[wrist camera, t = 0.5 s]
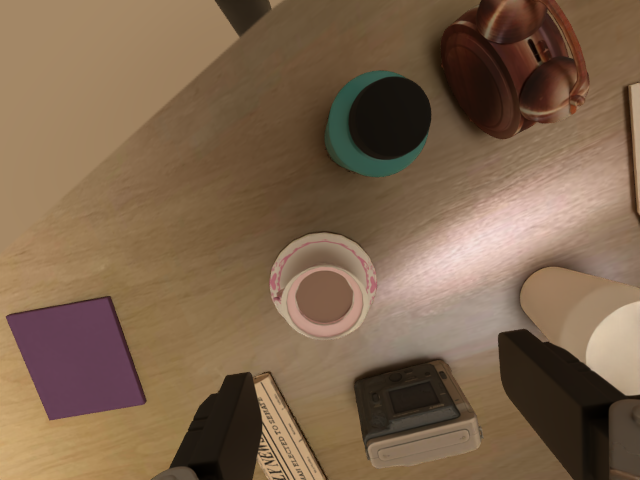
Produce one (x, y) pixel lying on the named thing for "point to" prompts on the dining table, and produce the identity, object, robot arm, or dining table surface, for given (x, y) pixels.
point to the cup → (589, 321)
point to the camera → (415, 416)
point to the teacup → (323, 285)
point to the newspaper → (282, 438)
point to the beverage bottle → (378, 124)
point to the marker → (635, 135)
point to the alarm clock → (514, 65)
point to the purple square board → (77, 358)
